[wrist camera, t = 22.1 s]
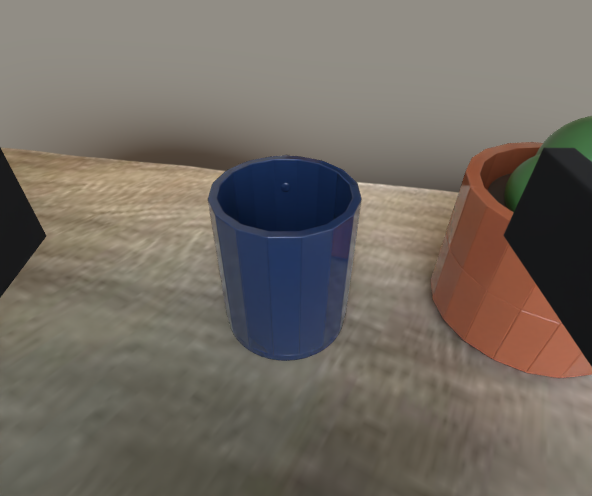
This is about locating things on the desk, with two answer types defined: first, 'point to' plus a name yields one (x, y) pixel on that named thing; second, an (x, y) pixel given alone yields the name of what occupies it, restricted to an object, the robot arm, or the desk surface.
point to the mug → (285, 252)
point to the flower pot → (498, 279)
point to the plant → (508, 188)
